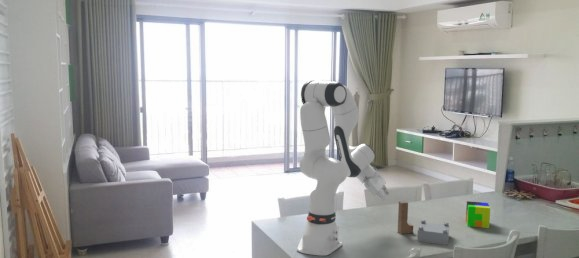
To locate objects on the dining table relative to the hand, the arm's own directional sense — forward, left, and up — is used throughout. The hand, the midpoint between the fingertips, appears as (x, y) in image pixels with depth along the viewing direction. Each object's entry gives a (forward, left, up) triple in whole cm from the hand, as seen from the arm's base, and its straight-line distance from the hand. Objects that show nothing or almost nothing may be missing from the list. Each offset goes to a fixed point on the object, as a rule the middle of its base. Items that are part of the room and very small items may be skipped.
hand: (387, 196), depth 230 cm
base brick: (-3, -22, -16) cm, 28 cm away
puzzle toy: (+27, -41, -17) cm, 52 cm away
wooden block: (0, -9, -17) cm, 19 cm away
